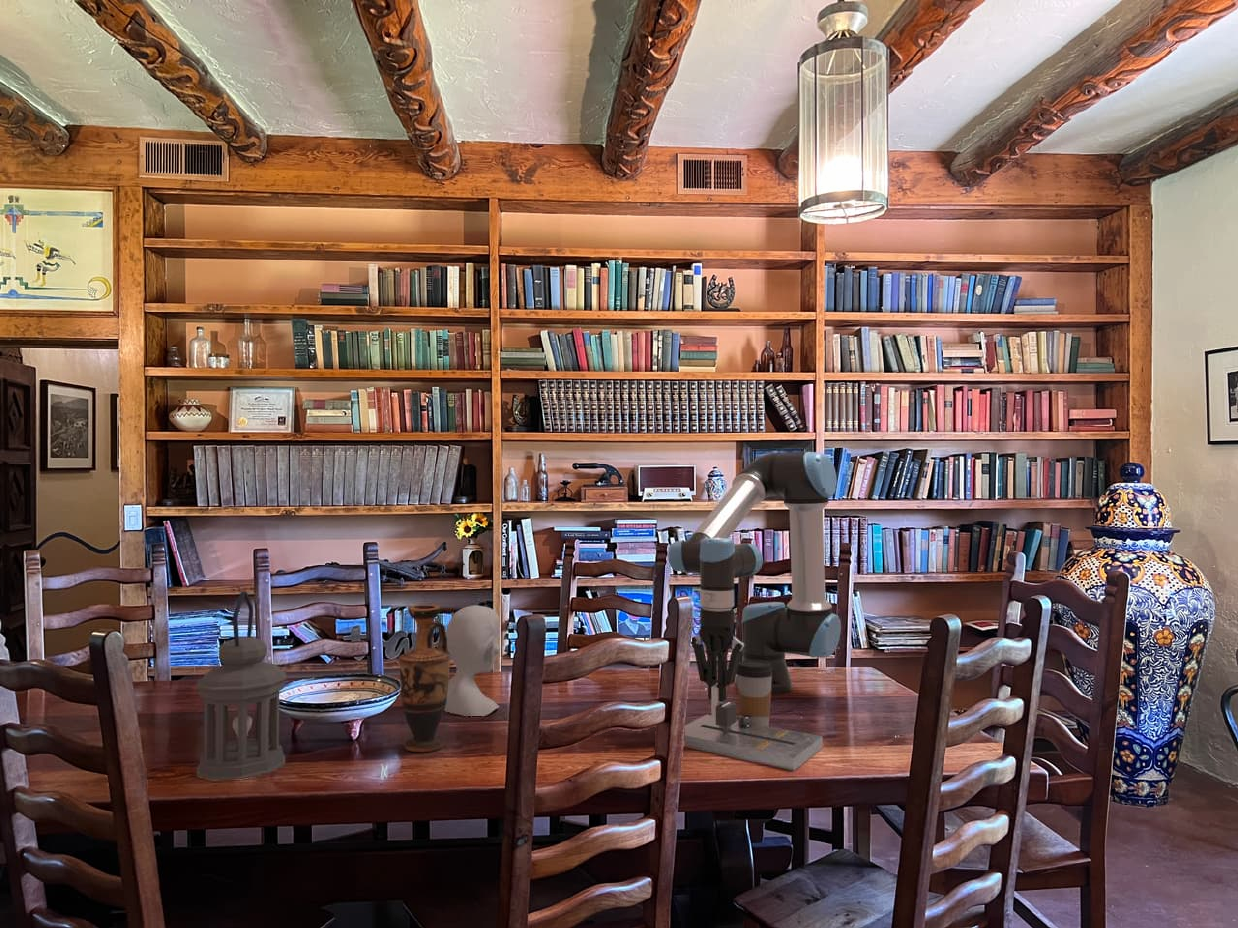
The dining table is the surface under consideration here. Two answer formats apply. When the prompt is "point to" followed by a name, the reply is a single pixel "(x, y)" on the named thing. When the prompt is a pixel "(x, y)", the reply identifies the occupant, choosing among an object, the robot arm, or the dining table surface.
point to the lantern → (241, 708)
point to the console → (753, 742)
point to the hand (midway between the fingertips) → (717, 715)
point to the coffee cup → (755, 690)
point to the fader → (726, 715)
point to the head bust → (471, 658)
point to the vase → (425, 681)
